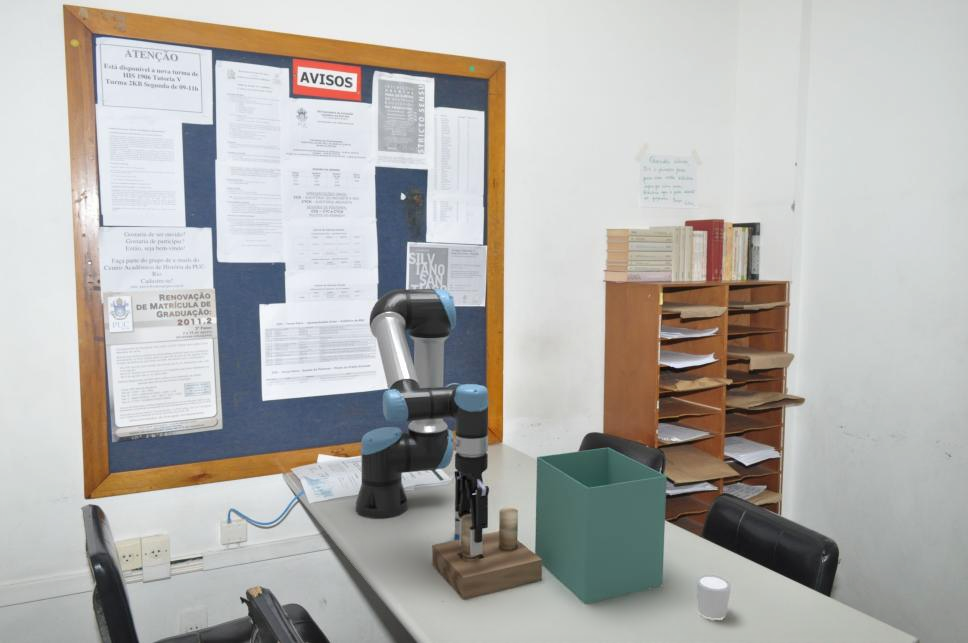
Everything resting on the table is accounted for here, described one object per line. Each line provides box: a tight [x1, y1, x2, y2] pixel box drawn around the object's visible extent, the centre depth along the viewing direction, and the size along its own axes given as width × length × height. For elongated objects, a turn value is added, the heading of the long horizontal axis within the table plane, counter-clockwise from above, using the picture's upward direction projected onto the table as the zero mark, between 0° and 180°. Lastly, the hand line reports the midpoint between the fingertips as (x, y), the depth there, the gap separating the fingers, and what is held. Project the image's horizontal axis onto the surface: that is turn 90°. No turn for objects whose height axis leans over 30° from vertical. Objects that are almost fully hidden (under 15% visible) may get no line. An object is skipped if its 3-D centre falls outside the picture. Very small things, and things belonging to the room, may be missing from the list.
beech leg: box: [461, 514, 479, 562], centre depth 156 cm, size 4×4×14 cm
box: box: [534, 447, 668, 605], centre depth 158 cm, size 23×21×26 cm
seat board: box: [431, 507, 543, 600], centre depth 158 cm, size 18×20×14 cm
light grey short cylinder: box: [695, 574, 732, 618], centre depth 141 cm, size 7×7×7 cm
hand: (470, 548), depth 156 cm, fingers open, 5 cm apart
